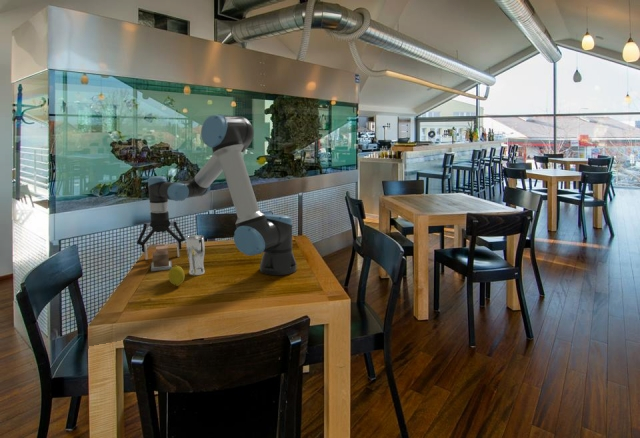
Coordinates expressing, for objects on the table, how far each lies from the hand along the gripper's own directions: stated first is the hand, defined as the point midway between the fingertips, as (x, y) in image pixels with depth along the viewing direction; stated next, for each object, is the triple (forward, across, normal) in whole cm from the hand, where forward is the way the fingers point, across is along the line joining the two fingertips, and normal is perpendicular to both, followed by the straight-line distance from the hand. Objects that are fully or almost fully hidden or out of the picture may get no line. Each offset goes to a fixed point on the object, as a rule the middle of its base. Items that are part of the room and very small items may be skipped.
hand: (162, 257), depth 192 cm
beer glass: (0, -13, +27) cm, 30 cm away
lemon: (0, -5, +40) cm, 40 cm away
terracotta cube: (0, 0, 0) cm, 0 cm away
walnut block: (-1, 0, +14) cm, 14 cm away
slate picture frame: (0, 0, +14) cm, 14 cm away
